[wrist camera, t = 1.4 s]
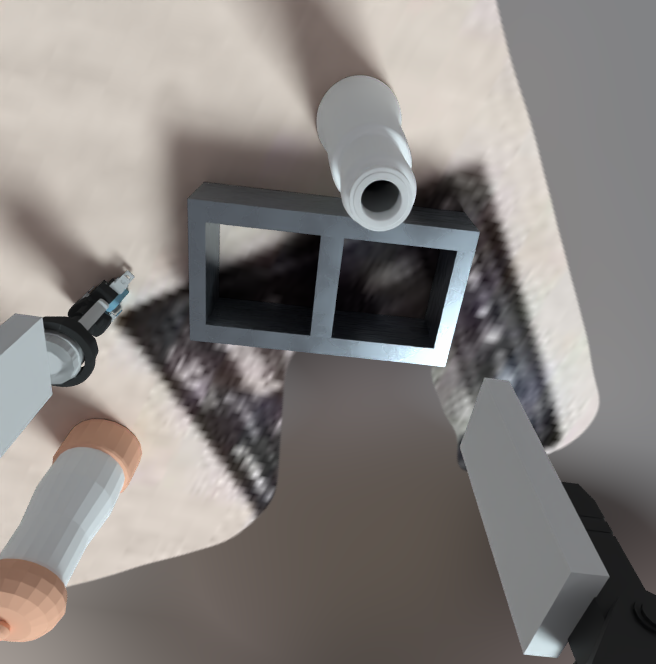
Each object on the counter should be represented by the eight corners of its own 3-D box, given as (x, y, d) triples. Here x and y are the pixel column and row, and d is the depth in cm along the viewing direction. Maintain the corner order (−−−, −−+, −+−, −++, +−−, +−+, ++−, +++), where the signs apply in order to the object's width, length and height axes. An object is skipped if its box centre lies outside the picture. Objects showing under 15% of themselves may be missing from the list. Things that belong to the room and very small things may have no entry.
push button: (108, 248, 42) (46, 301, 33) (159, 293, 44) (114, 354, 35) (61, 298, 44) (-8, 360, 35) (112, 339, 46) (58, 407, 37)
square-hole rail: (204, 311, 44) (190, 340, 40) (204, 182, 39) (187, 198, 35) (434, 336, 45) (444, 366, 41) (464, 212, 40) (479, 232, 36)
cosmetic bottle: (310, 158, 38) (282, 268, 19) (323, 67, 35) (306, 88, 16) (391, 172, 39) (443, 294, 19) (410, 83, 36) (494, 122, 16)
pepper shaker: (95, 405, 49) (-31, 589, 33) (156, 448, 52) (69, 639, 35) (54, 446, 52) (-82, 635, 35) (114, 485, 54) (14, 679, 38)
